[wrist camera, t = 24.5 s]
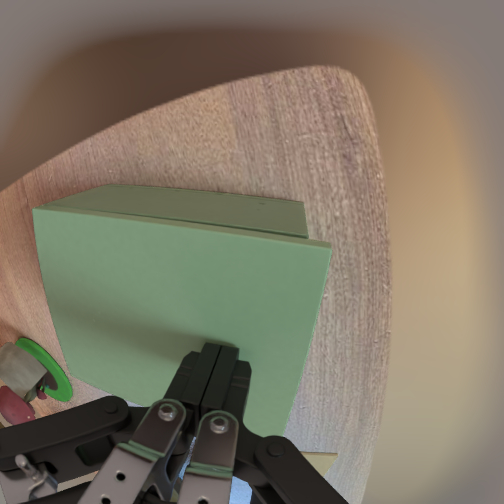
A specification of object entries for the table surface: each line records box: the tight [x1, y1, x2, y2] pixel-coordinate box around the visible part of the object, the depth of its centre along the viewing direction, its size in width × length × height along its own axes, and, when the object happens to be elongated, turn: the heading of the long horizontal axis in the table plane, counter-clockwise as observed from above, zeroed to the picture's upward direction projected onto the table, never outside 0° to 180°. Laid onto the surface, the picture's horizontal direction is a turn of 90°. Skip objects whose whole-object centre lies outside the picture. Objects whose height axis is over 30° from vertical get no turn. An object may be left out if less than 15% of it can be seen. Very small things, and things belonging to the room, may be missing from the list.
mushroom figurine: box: [0, 338, 72, 429], centre depth 22 cm, size 12×13×15 cm
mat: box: [301, 452, 338, 477], centre depth 28 cm, size 10×10×1 cm
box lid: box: [32, 205, 332, 437], centre depth 13 cm, size 14×12×1 cm
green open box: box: [44, 184, 309, 239], centre depth 17 cm, size 14×12×7 cm
